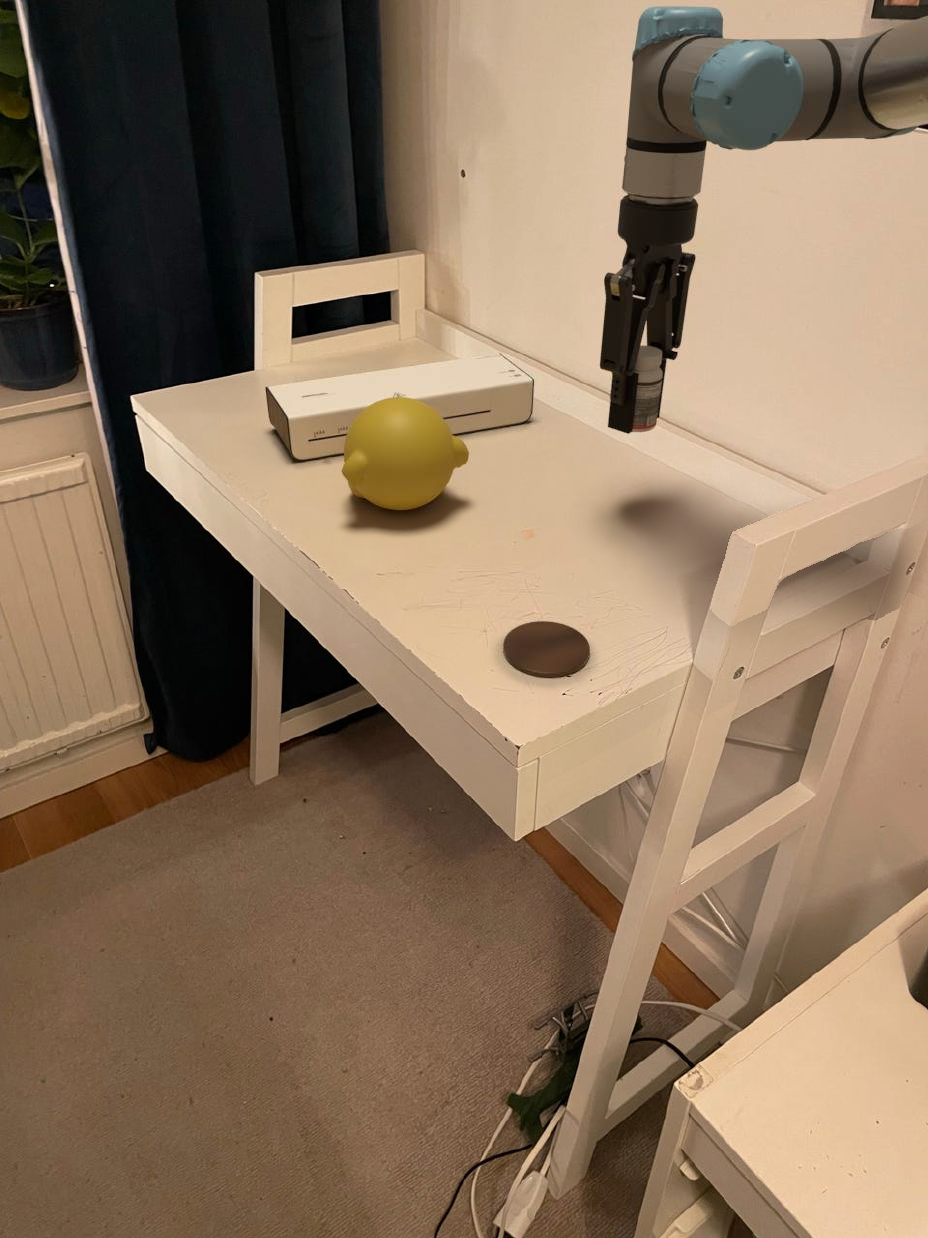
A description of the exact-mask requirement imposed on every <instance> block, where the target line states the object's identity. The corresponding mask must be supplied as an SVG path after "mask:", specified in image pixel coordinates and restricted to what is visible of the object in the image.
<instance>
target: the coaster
mask: <svg viewBox="0 0 928 1238" xmlns="http://www.w3.org/2000/svg"><path fill="white" fill-rule="evenodd" d="M590 651H591V647H590V644H589V641H588V640H587V638H586V637H585V635H584V634H583V633H581V632H580V631H579V630H577V629H576V628H574V627H572V626H570V625H567V624H565V623H560V622H556V621H549V620H539V621H529V622H526V623H523V624H520V625H518V626H516V627H514V628H513V629H512V630H510V631H509V632H508V633H507V634H506V636H505V637H504V640H503V644H502V652H503V655H504V657H505V659H506V661H507V662H508V663H509V664H510V665H511V666H512V667H514V668H515V669H517V670H518V671H520V672H523V673H526V674H528V675H531V676H535V677H541V678H558V677H564V676H568V675H571V674H574V673H576V672H577V671H579V670H581V669H582V668H583V667H584V666H585V665H586V664H587V662H588V660H589V659H590V654H591V653H590Z"/></svg>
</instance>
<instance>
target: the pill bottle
mask: <svg viewBox="0 0 928 1238" xmlns="http://www.w3.org/2000/svg"><path fill="white" fill-rule="evenodd" d="M661 363H662V351H661V350H660V349H658V348H656V347H652V346H647V345H640V349H639V353H638V358H637V362H636V366H635V370H634V373H638V374H639V377H638V386H637V394H636V403H635V412H634V420H633V429H632V432H631V433H645V432H649V431H652V430H653V429H654V428H656V426H657V421H658V418H657V414H658V406H659V398H660V391H661V384H662V376H663V373H662V370H661V368H660V365H661Z"/></svg>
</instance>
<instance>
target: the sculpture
mask: <svg viewBox="0 0 928 1238" xmlns="http://www.w3.org/2000/svg"><path fill="white" fill-rule="evenodd" d="M469 455H470V452H469V449H468V447H467V445H466V443H465V442H464V441H463V440H462V439H461V438H460V437H458V436H457V435H454V436H453V435H452V433H451V431H450V429H449V427H448V425H447V423H446V422H445V420H444V419H443V418H442V417H441V416H440V415H439V414H438V413H437V412H436V411H435V410H434V409H433V408H431V407H430V406H428V405H427V404H425V403H423V402H421V401H418V400H415V399H412V398H405V397H393V398H387V399H383V400H380V401H377V402H375V403H373V404H372V405H370V406H368V407H367V408H366V409H364V410H363V411H362V412H361V413H360V414H359V415H358V416H357V417H356V419H355V420H354V421H353V423H352V425H351V427H350V428H349V431H348V433H347V436H346V440H345V445H344V455H343V461H344V463H343V465H342V468H341V474H342V476H343V477H344V478H345V480H347V484H348V487H349V489H350V491H351V493H353V494H354V495H355V496H356V497H359V498H361V499H362V498H363V499H366V500H367V501H368V502H370V503H372V504H374V505H375V506H378V507H380V508H383V509H386V510H393V511H409V510H414V509H418V508H421V507H423V506H425V505H427V504H429V503H431V502H432V501H433V500H434V499H436V498H437V497H438V496H439V495H440V494H441V493H442V492H443V491H444V490H445V488H446V487H447V486H448V484H449V482H450V481H451V478H452V476H453V474H454V470H456V469H457V468H458V469H459V468H461V467H462V466H464V465H466V464H467V463H468V461H469Z"/></svg>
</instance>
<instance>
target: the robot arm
mask: <svg viewBox="0 0 928 1238" xmlns="http://www.w3.org/2000/svg"><path fill="white" fill-rule="evenodd" d="M723 31H724V18H723V14H722V12H721V10H720V9H718V8H717V7H712V6H684V5H683V6H682V5H681V6H678V5H677V6H675V5H674V6H673V5H672V6H670V5H669V6H651V7H647V8H646V9H644V11H643V12H642V13H641V15H640V16H639V18H638V23H637V30H636V37H635V44H634V50H633V51H632V56H631V61H632V69H631V80H630V81H631V82H630V94H629V104H628V105H629V107H628V117H627V129H626V130H627V131H626V140H625V145H626V147H625V154H624V158H623V161H624V166H623V176H622V184H621V189H622V191H623V192H624V193H626V195H624V196H623V197H622V198H621V199H620V202H619V209H618V211H619V212H618V222H617V235H618V237H619V238H620V239H622V240H623V241H624V242H625V244H626V249H625V253H624V256H623V259H622V261H621V268H620V269H619V270H618V271H617V272H616V273H614V272H607V273H605V276H604V278H603V285H604V292H605V301H604V302H605V303H604V314H603V325H602V337H601V345H600V346H601V347H600V358H599V367H600V368H599V369H601V370H603V371H607V372H610V373H611V383H610V384H611V386H610V395H609V410H608V421H607V428H610V429H612V430H616V431H619V432H622V433H624V434H631V433H633V432H632V429H633V420H634V412H635V403H636V394H637V386H638V377H639V374H638V373H634V370H635V366H636V362H637V358H638V353H639V349H640V345H641V344H642V340H643V337H644V332H645V328H646V346H652V347H656V348H658V349H660V350H661V351H662V363H661V365H660V368H661V370H662V373H663V376H662V384H661V391H660V398H659V406H658V414H657V419H659V418H660V414H661V407H662V400H663V391H664V383H665V376H666V368H667V361H668V360H671V361H676V359H677V358H678V356H679V355H678V354H679V351H675V350H673V349H677V350H678V349H679V348H680V347H681V345H682V340H683V331H684V325H685V316H686V310H687V303H688V297H689V296H688V295H689V288H690V281H691V276H692V273H693V270H694V267H695V263H696V259H697V258H696V254H695V253H690V252H685V251H683V247H682V245H684V244H687V243H689V242H691V241H692V240H693V238H694V237H695V233H696V225H697V218H698V211H699V203H698V200H697V199H696V198H694V197H696V196H697V195H699V194H701V190H702V181H703V176H704V175H703V174H704V166H705V159H706V150H707V144H708V142H709V143H711V144H713V145H718V147H720V148H722V149H725V150H729V151H731V150H743V151H757V150H762V149H764V148H767V147H768V146H770V145H772V144H774V143H776V142H778V143H779V142H799V141H810V140H839V139H864V140H879V139H888V138H891V137H895V136H897V137H898V136H903V135H907V134H909V133H912V132H913V131H915V130H917V128H918V127H919V126H923V125H928V15H926V16H925V15H924V16H922V17H920V18H917V19H914V20H911V21H907V22H904V23H902V24H899V25H896V26H895V27H892V28H889V29H886V30H882V31H880V32H876V33H873V34H870V35H867V36H861V37H850V38H849V37H847V38H845V37H844V38H828V39H827V38H767V39H765V38H764V39H763V38H762V39H760V38H759V39H756V38H755V39H747V38H746V39H740V38H724V32H723Z"/></svg>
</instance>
